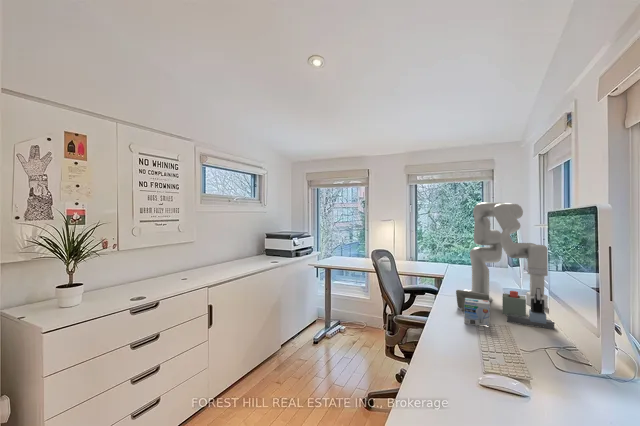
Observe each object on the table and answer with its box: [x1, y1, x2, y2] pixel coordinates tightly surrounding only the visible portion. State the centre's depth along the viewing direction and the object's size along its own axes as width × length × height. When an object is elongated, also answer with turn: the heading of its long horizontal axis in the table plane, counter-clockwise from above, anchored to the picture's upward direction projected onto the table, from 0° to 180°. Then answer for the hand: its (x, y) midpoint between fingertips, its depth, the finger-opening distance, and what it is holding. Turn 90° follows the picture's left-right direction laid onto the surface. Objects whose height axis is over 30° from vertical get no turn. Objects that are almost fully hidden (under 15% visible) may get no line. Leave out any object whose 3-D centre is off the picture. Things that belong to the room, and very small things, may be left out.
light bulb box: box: [463, 298, 491, 327], centre depth 141 cm, size 11×7×11 cm, turn 62°
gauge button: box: [509, 290, 519, 298], centre depth 154 cm, size 4×4×4 cm
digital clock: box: [455, 289, 490, 312], centre depth 159 cm, size 16×9×11 cm, turn 38°
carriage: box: [528, 298, 547, 324], centre depth 138 cm, size 6×7×10 cm
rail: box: [506, 313, 555, 331], centre depth 139 cm, size 18×4×3 cm, turn 57°
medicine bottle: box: [525, 291, 549, 309], centre depth 167 cm, size 7×7×12 cm
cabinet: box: [502, 293, 527, 316], centre depth 154 cm, size 10×8×9 cm
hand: (537, 310), depth 138 cm, fingers closed on carriage, 2 cm apart
